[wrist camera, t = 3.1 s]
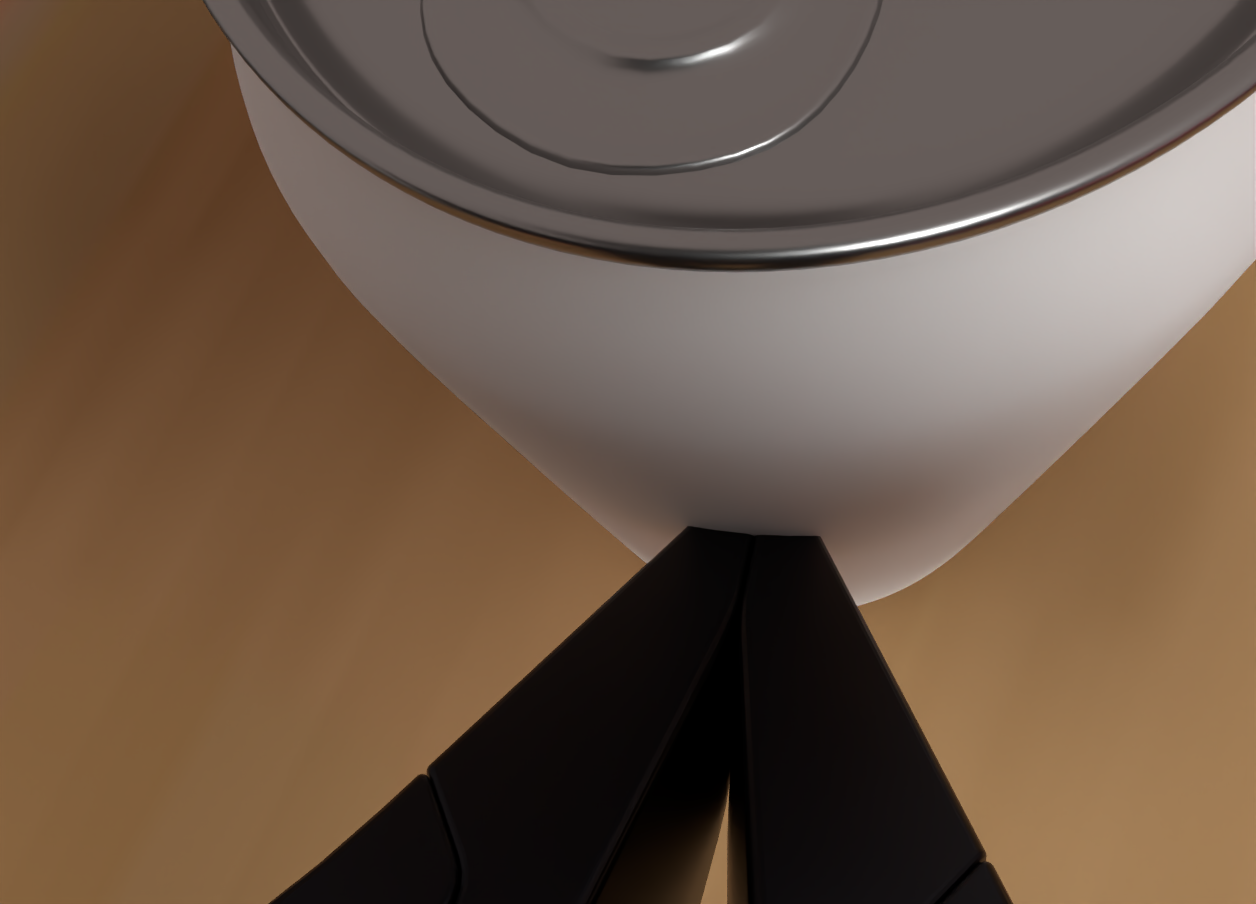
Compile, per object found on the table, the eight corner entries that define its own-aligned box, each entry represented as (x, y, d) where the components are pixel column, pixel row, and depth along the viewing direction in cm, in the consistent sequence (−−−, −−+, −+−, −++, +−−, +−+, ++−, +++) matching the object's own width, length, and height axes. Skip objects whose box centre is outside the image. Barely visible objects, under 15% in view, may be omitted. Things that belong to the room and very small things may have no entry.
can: (510, 530, 16) (-192, 122, 5) (660, 142, 17) (373, -969, 6) (944, 687, 15) (1418, 639, 3) (1079, 255, 16) (1802, -912, 4)
